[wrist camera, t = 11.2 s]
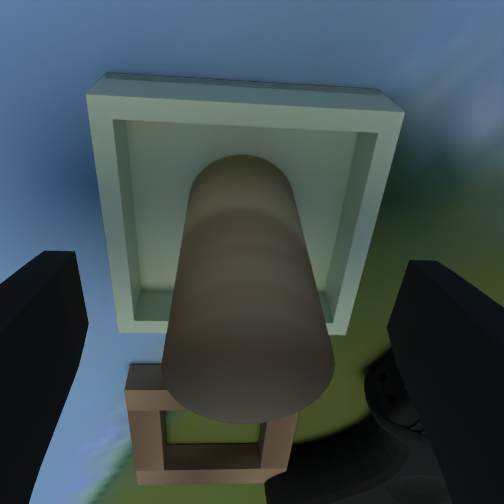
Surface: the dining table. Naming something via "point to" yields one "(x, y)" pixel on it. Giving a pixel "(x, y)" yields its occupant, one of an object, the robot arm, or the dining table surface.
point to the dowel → (245, 300)
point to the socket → (202, 455)
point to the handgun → (368, 456)
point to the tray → (227, 144)
